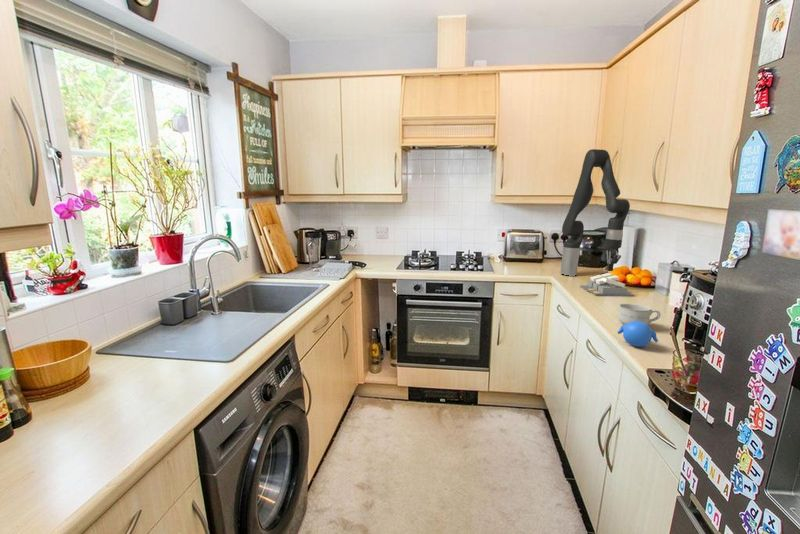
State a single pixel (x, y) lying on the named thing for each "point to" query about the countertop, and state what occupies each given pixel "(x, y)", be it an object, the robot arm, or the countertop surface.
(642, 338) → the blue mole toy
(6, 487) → the countertop surface
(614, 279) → the rocker
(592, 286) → the switch unit
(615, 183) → the robot arm
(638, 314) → the teacup
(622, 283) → the rocker
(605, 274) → the rocker
